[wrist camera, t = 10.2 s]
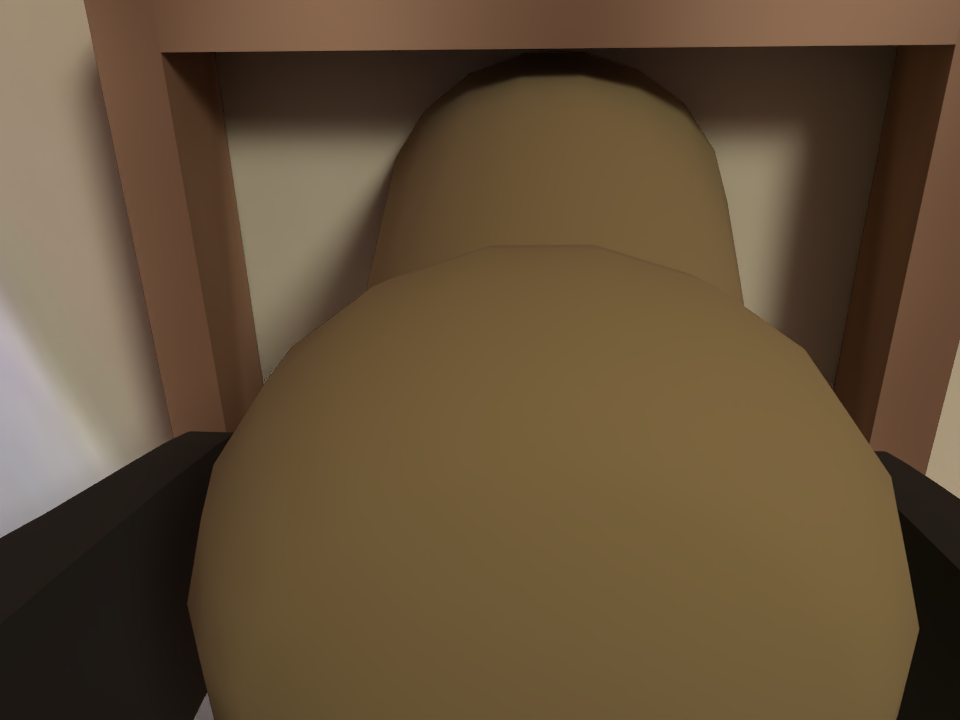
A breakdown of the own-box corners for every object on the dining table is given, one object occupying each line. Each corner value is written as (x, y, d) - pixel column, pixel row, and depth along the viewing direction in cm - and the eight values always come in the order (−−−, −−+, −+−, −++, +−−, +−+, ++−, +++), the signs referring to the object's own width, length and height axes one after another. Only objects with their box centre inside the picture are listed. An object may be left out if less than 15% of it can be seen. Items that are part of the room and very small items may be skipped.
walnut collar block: (246, 564, 19) (212, 628, 17) (143, -26, 13) (78, -23, 12) (845, 590, 18) (877, 662, 16) (984, -41, 12) (1056, -42, 11)
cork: (683, 404, 16) (878, 1119, 6) (374, 357, 16) (79, 983, 6) (769, 77, 13) (1357, 412, 3) (397, 26, 14) (-49, 209, 4)
